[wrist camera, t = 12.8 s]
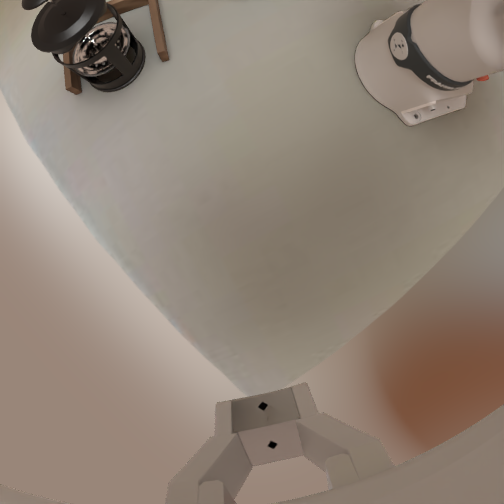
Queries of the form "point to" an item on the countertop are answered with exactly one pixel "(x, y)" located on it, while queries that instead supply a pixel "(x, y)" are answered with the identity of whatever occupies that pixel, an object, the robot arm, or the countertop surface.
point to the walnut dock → (122, 3)
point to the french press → (87, 40)
